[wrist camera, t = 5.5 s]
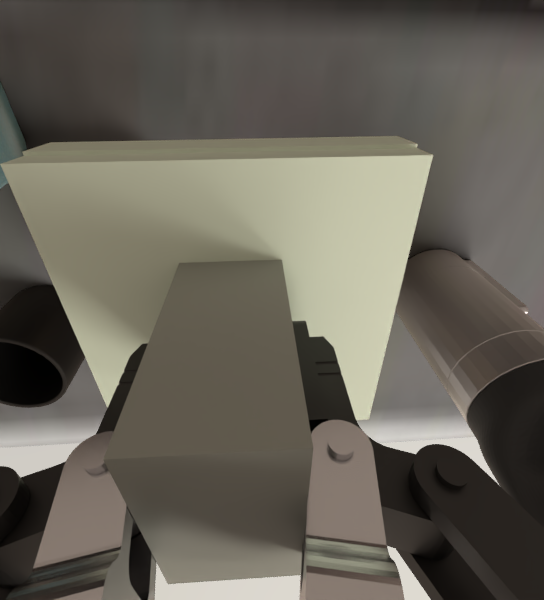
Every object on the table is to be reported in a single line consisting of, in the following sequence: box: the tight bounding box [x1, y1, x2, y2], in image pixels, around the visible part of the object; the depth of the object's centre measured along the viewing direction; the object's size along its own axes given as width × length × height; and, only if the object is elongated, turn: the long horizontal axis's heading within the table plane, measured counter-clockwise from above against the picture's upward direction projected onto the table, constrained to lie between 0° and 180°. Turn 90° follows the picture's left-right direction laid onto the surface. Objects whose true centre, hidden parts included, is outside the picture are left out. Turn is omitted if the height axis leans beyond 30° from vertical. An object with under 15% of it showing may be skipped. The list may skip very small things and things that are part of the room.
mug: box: [0, 286, 85, 408], centre depth 35 cm, size 9×12×9 cm
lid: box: [0, 136, 433, 584], centre depth 10 cm, size 11×11×8 cm
